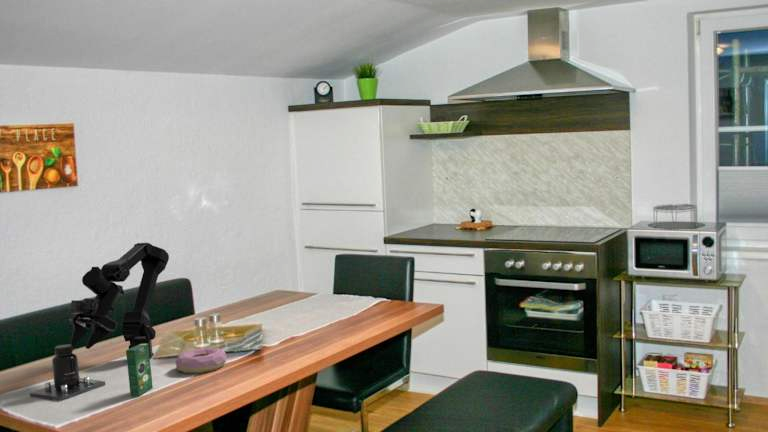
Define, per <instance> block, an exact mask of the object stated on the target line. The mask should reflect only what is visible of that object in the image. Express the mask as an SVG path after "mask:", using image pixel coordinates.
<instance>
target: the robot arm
mask: <svg viewBox="0 0 768 432" xmlns="http://www.w3.org/2000/svg"><path fill="white" fill-rule="evenodd" d="M169 260H170V255H169V253H168V252H167V251H166V249H164V248H161V247H160V246H159V247H158V246H156V245H153V244H151V243H150V242H137V243H135V244H134V245H133V247H132V248H130V249H129V250H128V251H127V252H126V253H124V254H123V255H122V256H121V257H120V258H119V259H116V260H113V261H109V262H107V263H105V264H103V265H102V267H101V268H100V267H99V266H92V267H91V268H90V270H89V271H87V272H86V273H84V275H82V279H81V281H82V284H83V286H84V287H86V288H87V289H89V291H91V292H92V293H93V294H94V295H95V297H94V298H93V299H92V298H88V297H87V298H84V299H83V300H74V299H73V300H71V302H70V307H69V312H73V313H71V314H70V315H69V318H68V320H69V324H71V326H72V332H71V336H70V337H71V338H70V343H69V344H71V345H72V347H73V348H74V347H75V346H76V345H77V344H78V343H79V342H80V341H81V340H82V339H83V338H84V337H85V336H86V335H87V334H88V333H89V332H90V334H89V337H88V339H87V341H86V343H85V347H84V348H85V349H88V350H90V348H92V347H93V346H94V345H95V344H97V343H98V342H100V341H102V339H104V338H105V337H106V336H108V335H109V334H111V333H112V332H115V331H116V329H117V327H118V322H117V321H116V320H115V319H112V318H111V317H110V316H108V315H109V313H110V312H113V311H114V307H113V305H114V304H115V302H116V300H117V299H118V297H119V295H122V296H123V295H125V292H124V288H123V285H119V284H117V283H122V282H123V283H124V282H125V281H126V280H127V279H128V278H129V276H130V275H131V272H130V271H131V270H132V268H134V267H135V266H136V265H137V264H138V263H139V262H140V265H141V268H142V271H143V272H142V277H141V280H140V283H139V287H138V290H137V294H136V296H135V300H134V304H133V307H132V309H131V310H130V311H125V312H124V315H123V318H122V321H121V329H120V330H121V334H122V336H123V339H124V341H125V342H129V345H128V349H130V348H132V347H135V346H137V345H139V344H148V347H149V357H150V360H151V359H152V358H153V357H154V356H155V353H154V352H153V346H152V345H153V344H152V341H153V340H154V339H155V338H156V333H157V331H156V330H155V328H154V327H153V326H152V325H151V318H150V315H149V311H150V307H151V303H152V299H153V297H154V293H155V288H156V285H157V281H158V278H159V275H161V273H162V272H164V270H166V267H167V265H168V262H169ZM90 328H91V331H90Z"/></svg>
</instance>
